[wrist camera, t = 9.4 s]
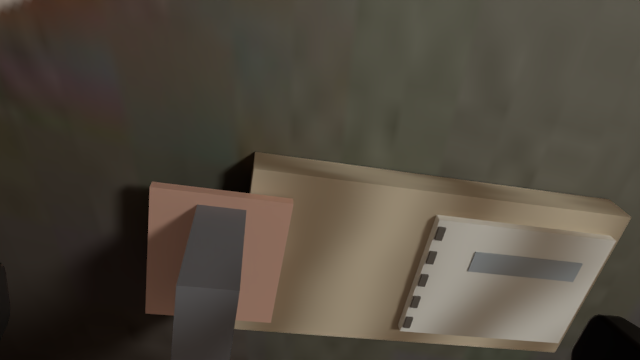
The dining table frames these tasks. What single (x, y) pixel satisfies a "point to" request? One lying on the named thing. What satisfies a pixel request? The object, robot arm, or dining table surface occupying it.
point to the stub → (213, 263)
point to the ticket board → (431, 256)
